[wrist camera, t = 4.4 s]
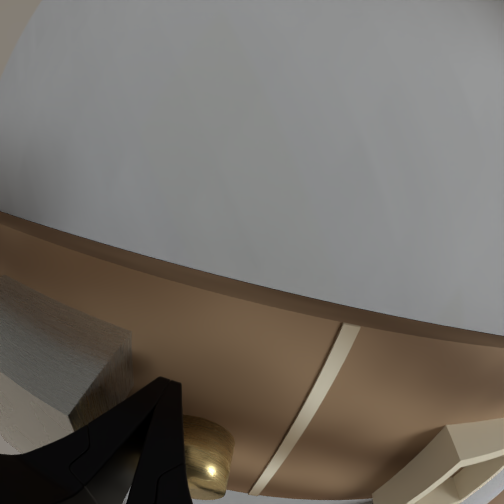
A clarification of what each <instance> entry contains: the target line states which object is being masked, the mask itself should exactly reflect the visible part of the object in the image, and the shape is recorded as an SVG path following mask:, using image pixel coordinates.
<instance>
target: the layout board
mask: <svg viewBox="0 0 504 504" xmlns="http://www.w3.org/2000/svg"><path fill="white" fill-rule="evenodd" d="M4 274H5V275H7V276H9V277H10V278H12V279H14V280H16V281H18V282H20V283H22V284H24V285H26V286H28V287H30V288H32V289H34V290H36V291H38V292H40V293H42V294H44V295H46V296H48V297H50V298H52V299H54V300H57V301H59V302H61V303H63V304H65V305H68V306H70V307H72V308H74V309H77V310H79V311H81V312H84V313H86V314H89V315H91V316H93V317H96V318H98V319H101V320H103V321H106V322H109V323H111V324H114V325H116V326H119V327H122V328H124V329H127V330H130V331H132V361H133V380H134V385H133V387H132V389H131V390H130V392H129V394H128V396H127V397H126V398H128V397H129V396H131V395H132V394H134V393H135V392H137V391H138V390H140V389H141V388H143V387H144V386H146V385H147V384H149V383H150V382H152V381H153V380H154V379H156V378H157V377H159V376H162V377H165V378H168V379H170V380H174V381H177V382H180V383H181V384H182V405H183V415H190V416H196V417H201V418H204V419H207V420H210V421H212V422H215V423H217V424H219V425H220V426H222V427H223V428H225V429H226V430H227V431H229V432H230V433H231V435H232V436H233V438H234V440H235V447H234V452H233V457H232V462H231V468H230V473H229V478H228V483H227V488H226V489H227V490H232V491H237V492H243V493H248V495H254V496H258V495H263V496H271V497H281V498H292V499H310V500H352V499H369V498H372V493H374V492H375V491H376V490H377V489H379V488H380V487H381V486H383V485H384V484H385V483H386V482H387V481H389V480H390V479H391V478H392V477H393V476H395V475H396V474H397V473H398V472H399V471H400V470H402V469H403V468H404V467H405V466H406V465H407V464H408V463H409V462H410V461H411V460H413V459H414V458H415V457H416V456H417V455H418V454H419V453H420V452H421V451H422V450H423V449H424V448H425V447H426V446H427V445H428V444H429V443H430V442H431V441H432V440H433V439H434V438H435V437H436V435H437V434H438V433H439V432H440V431H441V430H442V429H443V428H444V427H445V426H446V425H452V424H462V423H471V422H479V421H486V420H492V419H498V418H503V417H504V336H500V335H493V334H487V333H481V332H476V331H470V330H464V329H459V328H453V327H448V326H442V325H437V324H432V323H426V322H421V321H416V320H411V319H406V318H401V317H396V316H391V315H386V314H381V313H376V312H372V311H367V310H362V309H358V308H353V307H348V306H344V305H339V304H335V303H330V302H326V301H321V300H317V299H313V298H308V297H304V296H300V295H295V294H291V293H287V292H283V291H279V290H274V289H270V288H266V287H262V286H258V285H254V284H250V283H246V282H242V281H238V280H234V279H230V278H226V277H222V276H218V275H214V274H211V273H207V272H203V271H199V270H195V269H191V268H188V267H184V266H180V265H177V264H173V263H169V262H166V261H162V260H158V259H155V258H151V257H147V256H144V255H140V254H137V253H133V252H130V251H126V250H123V249H119V248H116V247H112V246H109V245H106V244H102V243H99V242H95V241H92V240H89V239H85V238H82V237H79V236H75V235H72V234H69V233H66V232H62V231H59V230H56V229H53V228H50V227H46V226H43V225H40V224H37V223H34V222H31V221H28V220H25V219H22V218H19V217H16V216H13V215H10V214H7V213H4V212H1V211H0V277H1V276H3V275H4ZM463 468H464V467H461V468H459V469H458V470H457V471H456V472H455V473H454V474H452V475H451V476H450V477H449V478H452V477H454V476H455V475H456V474H457V473H459V472H460V471H461V470H462V469H463Z"/></svg>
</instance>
